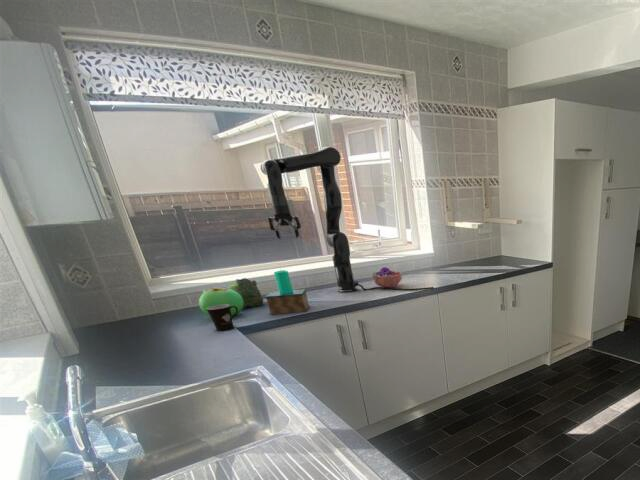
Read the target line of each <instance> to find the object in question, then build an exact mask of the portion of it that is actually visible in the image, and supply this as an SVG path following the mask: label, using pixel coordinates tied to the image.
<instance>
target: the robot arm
mask: <svg viewBox="0 0 640 480" xmlns="http://www.w3.org/2000/svg"><path fill="white" fill-rule="evenodd" d="M341 160H342V156H341V153H340V151H339V150H338V149H337V148H335V147H333V146H324V147H321V148H320V149H319V150H318V151H316V152H310V153H301V154H294V155H289V156H288V155H287V156H283V157H280V158H274V159H265V160H263V161H261V163H260V165H259V167H260V171H261V172H262V174H264V175H265V176H266V177H267V183H266V187H267V191H268V195H269V201H270V205H271V208H272V212H273V215H274V216H273V217H271V216H270V217H268V219H267V220H268V224H269V229H270V230H271V231H274V232H275V235H276V238H278V239H279V240H280V239H282V236H281V233H280V230H279V229H280V228H281V227H285V226H286V227H288V226H290V227H292V229H293V230H294V234H295V238H299V237H300V232H299V229H301V228H302V225H301V222H300V218H299V216H298V215H293V216H292V214H291V210H290V205H289V202H288V199H287V196H286V193H285V189H284V185H283V175H282V174H288V173H289V174H290V173H294V172H295V173H296V172H301V171H304V170H308V169H311V168H317V167H319V170H320V176H321V186H322V198H323V205H324V215H325V227H326V229H325V233H326V234H325V236H326V237H325V239H326V243H327V245H328V246H329V247H331V248H332V249H333V253H334V254H333V255H332V262H333V268H334V272H335V277H336V281H337V289H338V291H339V293H348V292H355V291H356V290H357V287H358V286H359V287H361V289H362V290H363V291H371V290H376V289H382V290H394V291H421V290H432V289H434V286H429V287H420V288H419V287H417V288H399V287H398V288H397V287H390V288H386V287H383V286H374V287H370V288H365V287H364V286H363V285H361V284H359V281H358V280H355V276H354V273H353V268H352V263H351V258H350V257H351V250H350V244H349V238H348V236H347V234H346V233H343V232H342V231H341V228H340V219H341V214H342V210H343V201H342V200H343V199H342V193H341V189H340V187H339V185H338V182H337V180H336V175H335V167H336V166H337V165H339V164H340V162H341ZM293 220H294V221H295V223H296V225H295V223H293V222H292V221H293ZM274 222H276V225H275V226H274Z"/></svg>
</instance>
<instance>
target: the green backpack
mask: <svg viewBox="0 0 640 480" xmlns="http://www.w3.org/2000/svg"><path fill="white" fill-rule="evenodd" d="M235 282H236V283H235V284H238V286H237V287H236V288H235V289H234V291H236V292H238V293H239V294H240V295H241V297H242V298H243V302H244V305H243V308H242V310H244V309H245V308H247V307H250V308H257V307H260V306H262V305H263V304H264V298H263V296H262V293H261V290H260V289H259V287H258V286H257V285H258V282H257V281H256V280H255V279H254V280H250V279H249V278H247V277H244V278H241V279H237V278H236V279H235Z"/></svg>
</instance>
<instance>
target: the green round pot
mask: <svg viewBox="0 0 640 480" xmlns="http://www.w3.org/2000/svg"><path fill="white" fill-rule="evenodd" d="M237 286H238V284H237V283H235V284H232V285H230V286H227V287H212V288H211V289H208V290H207V289H203V290H202V294H200V297H199V299H198V306H199V308H200V310H201V311H202V312H203V313H204V314H206V315H208V316H209V317H210V315H209V313H208V311H207V309H206V308H208V307H210V306H214V305H222V304H228V305H230V307H231V306H235V307H237V309H238V312H237V314H239V313H240V312H241V311H242V310H243V309H242V308H243V305H244V302H243V298H242V297H241V295H240V294H239V293H238V292H236V291H234V290H235V289H236V287H237ZM230 311H231V316H232V317H233V316H234V315H235V313H236V308H234V307H232V308H231V309H230Z"/></svg>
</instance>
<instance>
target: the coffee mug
mask: <svg viewBox="0 0 640 480" xmlns="http://www.w3.org/2000/svg"><path fill="white" fill-rule="evenodd" d="M232 307H234V308H236V313H235V315H233V316H231V311H230V309H231V308H232ZM206 309H207V311H208V313H209V315H210V316H209V315H208V316H209V317H210V319H211V321H212V323H213V325H214V327H215V329H216V331H217V332H226V331H230V330H233V329H234V322H233V320H234V319H235V317H236V316H237V314H238V313H237V312H238V309H237V307H235V306H231V307H230V305H228V304H222V305H214V306H210V307H208V308H206Z"/></svg>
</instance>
